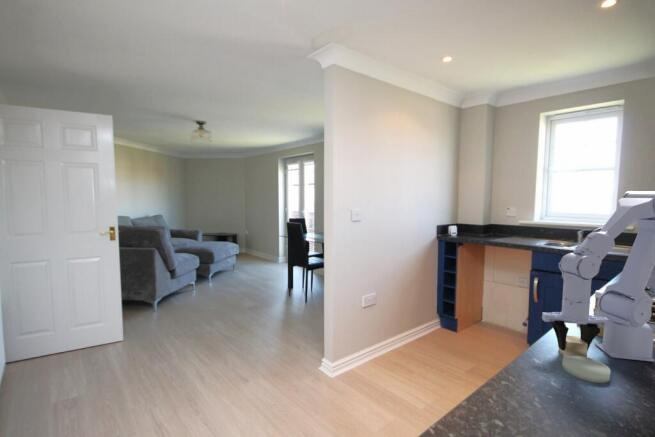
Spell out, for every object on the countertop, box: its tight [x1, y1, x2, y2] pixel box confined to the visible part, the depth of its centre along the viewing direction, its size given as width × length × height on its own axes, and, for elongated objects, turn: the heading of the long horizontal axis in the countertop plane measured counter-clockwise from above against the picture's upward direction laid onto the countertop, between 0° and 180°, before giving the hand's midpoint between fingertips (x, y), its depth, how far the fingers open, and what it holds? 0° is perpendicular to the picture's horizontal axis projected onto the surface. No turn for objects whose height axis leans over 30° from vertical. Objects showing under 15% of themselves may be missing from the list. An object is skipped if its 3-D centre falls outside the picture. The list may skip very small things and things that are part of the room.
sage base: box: [561, 355, 611, 384], centre depth 79 cm, size 9×9×2 cm
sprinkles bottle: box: [593, 289, 605, 338], centre depth 99 cm, size 5×5×14 cm
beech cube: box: [558, 335, 588, 357], centre depth 87 cm, size 4×4×4 cm
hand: (572, 349), depth 87 cm, fingers closed on beech cube, 4 cm apart
